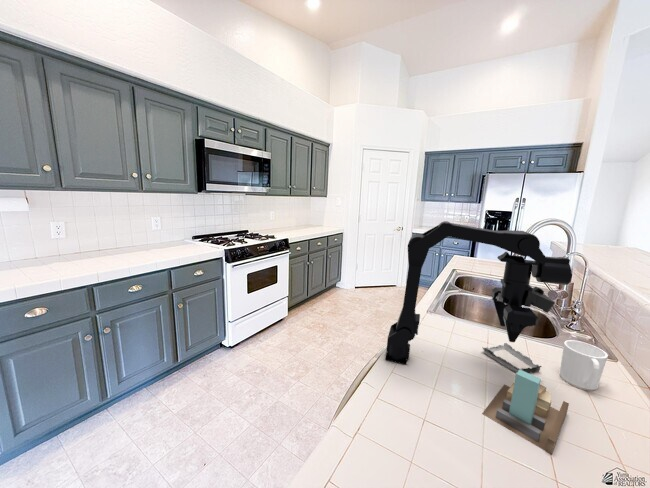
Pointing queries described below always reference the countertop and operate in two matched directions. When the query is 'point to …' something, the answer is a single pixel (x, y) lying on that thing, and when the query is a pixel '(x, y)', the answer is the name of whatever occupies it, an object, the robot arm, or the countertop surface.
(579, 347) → the mug
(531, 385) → the block
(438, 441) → the countertop surface
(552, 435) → the rack
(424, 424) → the countertop surface
